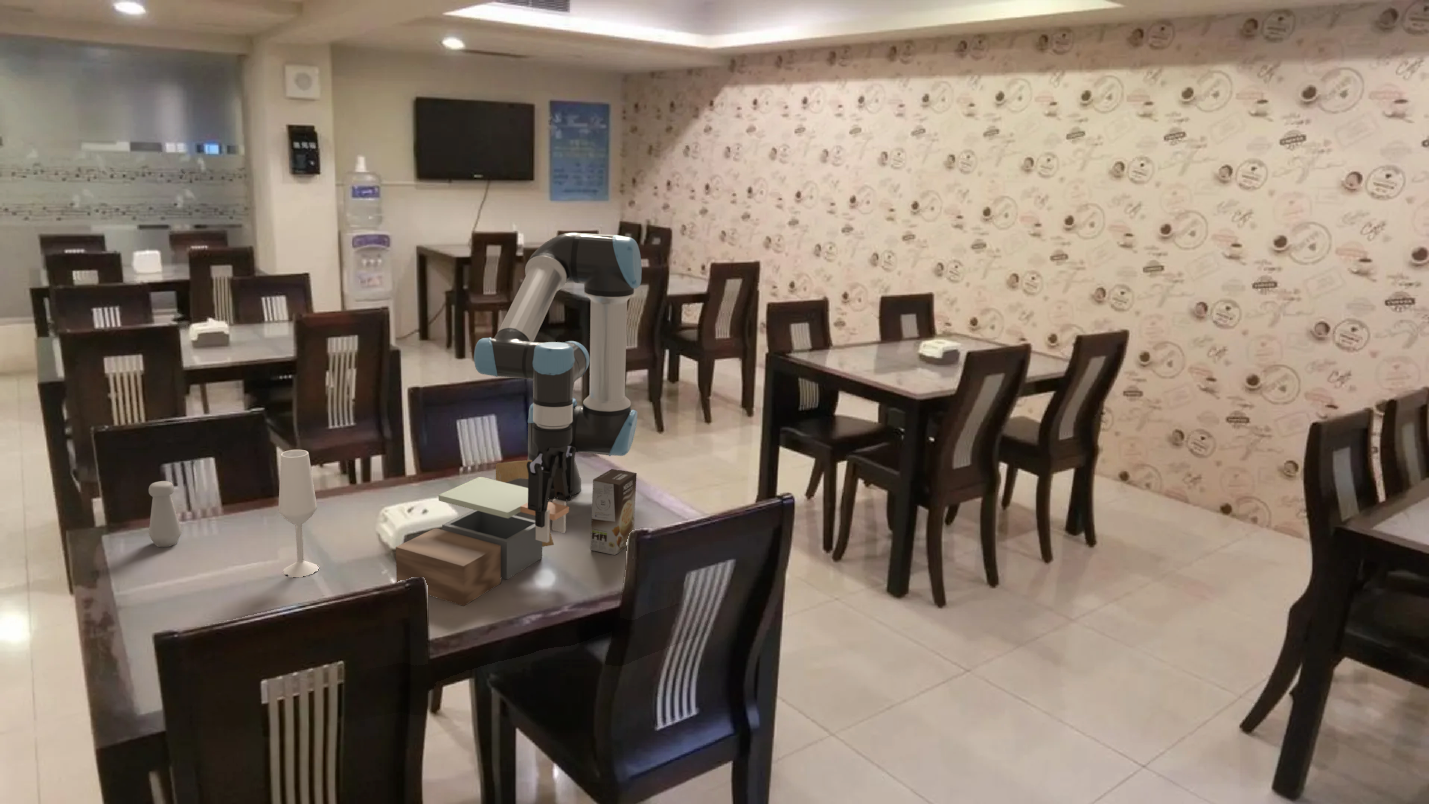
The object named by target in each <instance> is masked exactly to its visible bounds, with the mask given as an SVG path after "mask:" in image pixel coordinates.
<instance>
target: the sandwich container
mask: <svg viewBox="0 0 1429 804" xmlns="http://www.w3.org/2000/svg"><path fill="white" fill-rule="evenodd" d="M529 461H530V462H532V460H528V459H527V460H526V459H525V460H514V461H504V462H498V463H496V464H495V480H496V481H501V482H505V483H509V484H513V485H517V486H521V487H526V488H528V470H527V462H529ZM515 516H519V517H523V518H527V519H531V520H535V515H531V514H527V513H523V512H519V513H517V514H516V515H515ZM553 545H554V541H553V536H552V534H551V530H549V542H548V543H546V542H542V548H544V547H549V546H553Z"/></svg>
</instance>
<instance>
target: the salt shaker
mask: <svg viewBox="0 0 1429 804" xmlns="http://www.w3.org/2000/svg"><path fill="white" fill-rule="evenodd" d="M174 492H175V487H174V484H173V483H172V482H171V481H168V480H161V481H155V482H152V483H150V485H149V486H148V494H149V495H150V496H151V497H152V501H151V509H150V519H149V520H150V521H149V528H148V536H149V538H150V539H151V541H152V543H153V545H155V546H157V547H158V548H163V547H164V548H167V547H171V546H173V545H177V544H178V541H179V539H180V537H181V535H182V532H183V529H182V526H181V522H180V520H179V517H178V515H177V511H176V508H175V504H174V501H173V498H172V494H173V493H174Z"/></svg>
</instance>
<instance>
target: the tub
mask: <svg viewBox="0 0 1429 804" xmlns="http://www.w3.org/2000/svg"><path fill="white" fill-rule="evenodd" d="M441 528H442V529H441V530H445V531H448V532H452V533H456V534H460V535H463V536H467V537H471V538H474V539H478V540H482V541H486V542H489V543H493V544H497V545H500V546H501V579H504V580H509V579H510V578H512V577H514V576H515V575H516V574H519V573H520V572H522V571H523V570H525V569H527V568H528V567H530V566H531V565H533V564H534V563H536V562H538V561H539V560H542V559H543V547H542V541H539V540H536V525H535V520H531V519H527V518H523V517H519V516H515V515H514V516H512V517H510V518H504V517H500V516H496V515H493V514H489V513H485V512H481V511H477V510H473V509H471V510H470V511H468V512H466V513H463V514H461V515H460V516H458V517H456V518H454V519H451V520H449V521H447V522H445V523H443V524H442V526H441Z"/></svg>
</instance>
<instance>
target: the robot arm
mask: <svg viewBox="0 0 1429 804" xmlns="http://www.w3.org/2000/svg"><path fill="white" fill-rule="evenodd" d="M641 257H642V256H641V252H640V248H639V245H638V243H637V240H635V239H634V238H632V237H630V236H624V235H618V234H601V233H585V232H583V233H581V232H576V231H575V232H566V233H561V234H558V235H557V236H553V237H552V238H550V239H548V240H546V241H545V242H544V243H543V244H541V245H540V246H539V247H538V248H537V249H536V250H535V251H534V252H533V253H532V254H531V255H530V257H529V258H528V261H527V262H526V264H525V267H524V268H525V269H524V273H525V274H524V275H525V277H524V279H523V281H522V283H521V284H520V287H519V289H518V291H517V292H516V295H515V297H514V299H513V300H512V303H511V305H510V307H509V309H508V311H507V313H506V314H505V317H504V319H503V320H502V323H501V325H500V327H499V328H498V330H497V332H496V334H495V336H494V337H491V336H490V337H482V338H481V339H479V340H478V341H477V343H476V344H475V347H474V352H473V361H474V367H475V370H476V371H477V372H478V373H479V374H481V375H484V376H485V375H486V376H493V377H496V378H513V379H527V380H532V381H533V383H532V384H533V385H532V388H533V389H532V390H533V391H532V392H533V393H532V395H533V397H532V398H533V399H532V403H531V405H530V406H529V409H528V419H527V423H528V424H527V426H528V427H527V430H528V431H527V433H528V434H527V460H532V462H530V461H529V462H527V470H528V509H529V510H533V511H535V525H536V540H539V541H542V542H546V543H548V542H549V530H550V526H551V530H552V531H555V532H559V533H562V534H563V533H566V530H567V529H566V528H567V527H566V525H567V523H566V522H567V514H565V515H563V516H562V517H560V518H558V519H556V520H551V519H550V510H547V506H548V502H549V499H552V503H556V504H560V505H564V506H567V502H568V501H569V502H570V501H572V498H573V496H575V495H576V494H578V493H580V492H581V490H582V478H581V477H580V473H579V469H578V465H577V462H576V453H582V454H591V455H593V454H594V455H601V456H608V457H611V456H616V457H617V456H619V457H622V456H624V457H625V456H626V455H628V453H629V452H630V450H631V447H632V445H633V442H634V438H635V435H636V434H635V433H636V429H637V424H638V411H637V410H635V409H631V408H632V406H631V404H632V401H631V400H630V399H629V398H628V397H627V396H626V367H627V366H626V365H627V364H626V363H627V362H626V359H627V324H628V323H627V319H628V317H627V315H628V300H630V299H631V298H632V297H633V296H634V295H635V289H637V288H639V287H640V286H641V283H642V272H643V271H642V258H641ZM568 283H574V284H583V285H584V287H583V290H584V294H585V295H586V297H588V299H589V300H590V319H589V320H590V324H589V325H590V331H589V332H590V333H589V335H590V336H589V337H590V338H589V352H588V350H587V348H586V347H585V346H584V345H583V344H581V343H580V342H578V341H574V340H568V341H565V342H563V341H562V342H560V341H557V342H556V341H548V342H547V341H546V342H538V341H535V339H536V337H537V335H538V333H539V330H540V328H541V327H542V324H543V322H544V320H545V317H546V315H547V314H548V311H549V309H550V306H551V305H552V302H553V300H554V297H555V296H556V294H557V292H559V290H561V289H562V288H563V287H565V285H566V284H568ZM588 368H589V395H587V397H585V399H584V400H583V402H582V405H579V404H578V402H577V399H576V398H575V397H574V384H575V382H576V381H577V380H579V379H580V378H582V377H583V375H585V373H586V371H587V369H588ZM550 521H551V523H552V525H550ZM551 530H550V531H551Z"/></svg>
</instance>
